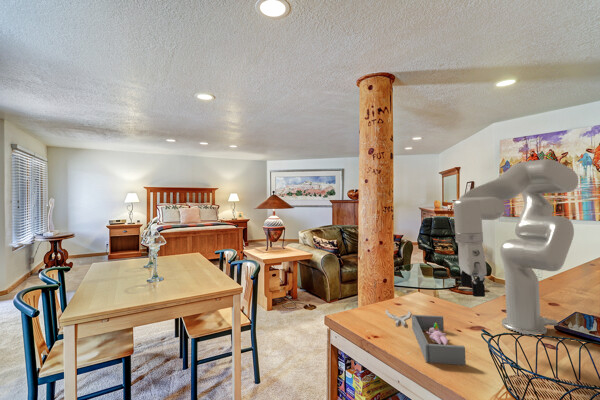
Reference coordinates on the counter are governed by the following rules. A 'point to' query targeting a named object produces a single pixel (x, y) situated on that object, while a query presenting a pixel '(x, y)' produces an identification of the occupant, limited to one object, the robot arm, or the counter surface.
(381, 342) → the counter surface
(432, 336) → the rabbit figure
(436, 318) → the box
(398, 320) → the pliers
